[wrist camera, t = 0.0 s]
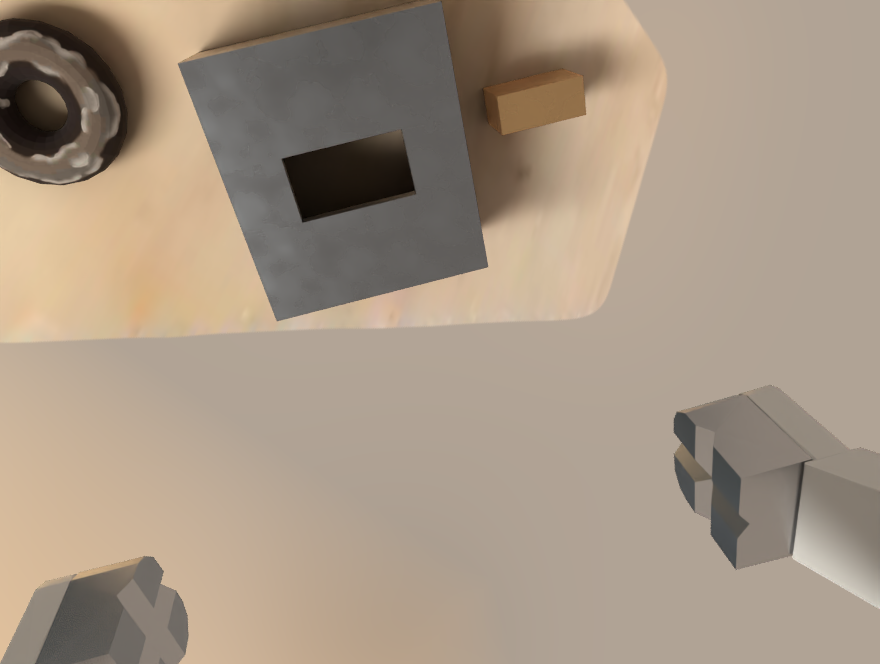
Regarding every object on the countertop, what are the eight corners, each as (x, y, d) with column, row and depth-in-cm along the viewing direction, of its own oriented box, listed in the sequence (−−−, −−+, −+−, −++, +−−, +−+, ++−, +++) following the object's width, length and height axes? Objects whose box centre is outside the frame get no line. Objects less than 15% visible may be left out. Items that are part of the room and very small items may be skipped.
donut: (76, -7, 45) (56, -6, 42) (161, 148, 51) (150, 160, 48) (-73, 49, 46) (-106, 54, 42) (29, 197, 52) (8, 213, 48)
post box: (198, 52, 48) (177, 63, 41) (424, -1, 49) (441, 1, 42) (282, 281, 58) (276, 321, 51) (468, 234, 59) (488, 267, 52)
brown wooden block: (482, 87, 53) (497, 96, 49) (561, 68, 53) (582, 75, 49) (488, 123, 55) (502, 135, 50) (565, 104, 55) (586, 114, 51)
